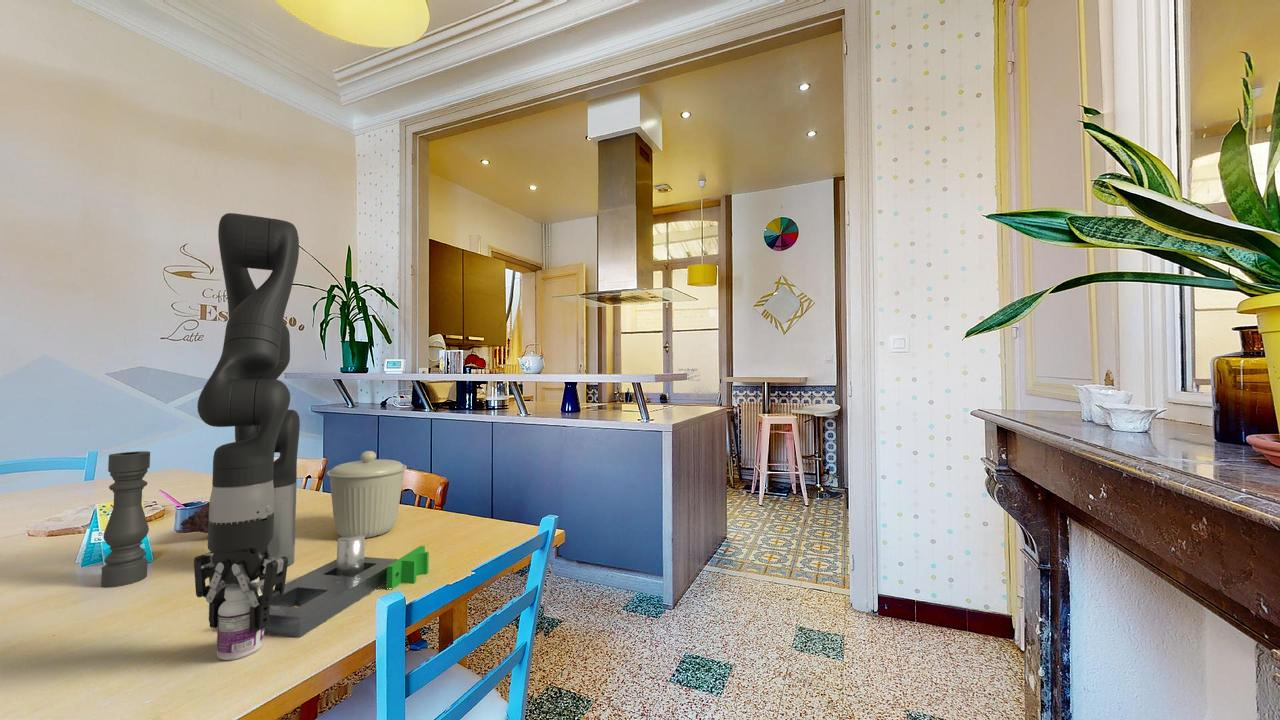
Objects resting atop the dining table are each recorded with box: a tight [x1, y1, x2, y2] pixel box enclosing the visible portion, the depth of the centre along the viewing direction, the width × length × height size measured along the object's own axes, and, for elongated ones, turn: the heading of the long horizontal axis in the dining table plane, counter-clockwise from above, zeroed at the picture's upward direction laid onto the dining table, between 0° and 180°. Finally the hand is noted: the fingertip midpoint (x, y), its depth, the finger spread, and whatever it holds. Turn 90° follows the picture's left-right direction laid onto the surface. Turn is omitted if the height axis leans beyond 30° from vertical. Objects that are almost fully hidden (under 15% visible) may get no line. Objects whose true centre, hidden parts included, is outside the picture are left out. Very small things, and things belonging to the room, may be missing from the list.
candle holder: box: [100, 450, 151, 588], centre depth 95 cm, size 6×6×25 cm
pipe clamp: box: [386, 545, 430, 591], centre depth 97 cm, size 11×4×5 cm, turn 174°
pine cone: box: [180, 502, 209, 534], centre depth 121 cm, size 18×10×10 cm, turn 143°
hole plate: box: [264, 556, 399, 638], centre depth 87 cm, size 13×24×3 cm, turn 171°
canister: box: [326, 450, 407, 539], centre depth 124 cm, size 18×18×21 cm
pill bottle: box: [216, 579, 265, 661], centre depth 71 cm, size 5×5×10 cm
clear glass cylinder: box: [336, 534, 366, 577], centre depth 93 cm, size 5×5×9 cm
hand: (238, 627), depth 71 cm, fingers open, 6 cm apart
